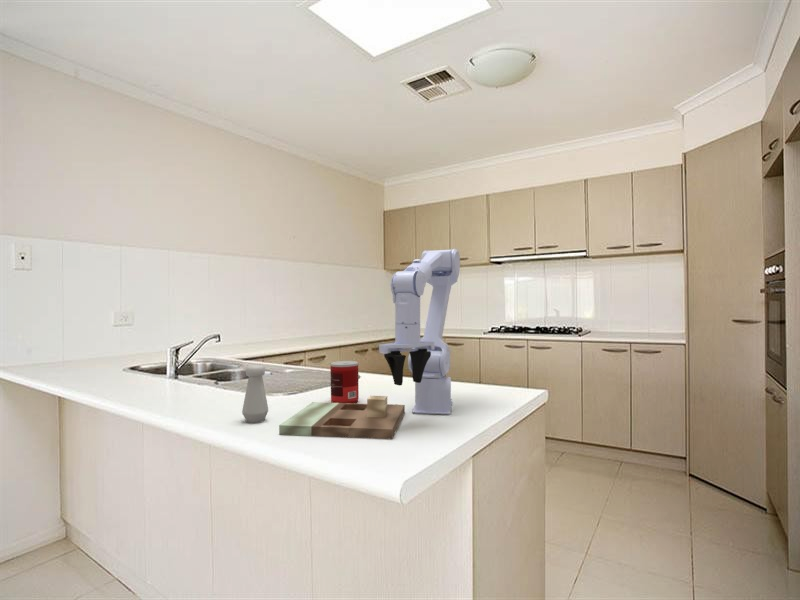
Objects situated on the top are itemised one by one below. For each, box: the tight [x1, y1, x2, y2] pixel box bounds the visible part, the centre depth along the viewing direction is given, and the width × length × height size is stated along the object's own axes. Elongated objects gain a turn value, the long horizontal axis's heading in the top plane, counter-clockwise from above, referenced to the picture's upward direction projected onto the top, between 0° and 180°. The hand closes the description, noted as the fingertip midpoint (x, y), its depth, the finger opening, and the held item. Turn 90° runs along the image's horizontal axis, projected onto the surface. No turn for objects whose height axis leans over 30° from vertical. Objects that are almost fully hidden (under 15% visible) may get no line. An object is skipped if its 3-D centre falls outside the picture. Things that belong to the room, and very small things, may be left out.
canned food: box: [330, 360, 360, 403], centre depth 125 cm, size 8×8×11 cm
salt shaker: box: [241, 364, 269, 424], centre depth 105 cm, size 6×6×13 cm
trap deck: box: [278, 401, 406, 440], centre depth 103 cm, size 24×22×2 cm
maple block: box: [366, 395, 388, 418], centre depth 103 cm, size 4×4×4 cm
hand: (407, 383), depth 102 cm, fingers open, 5 cm apart
